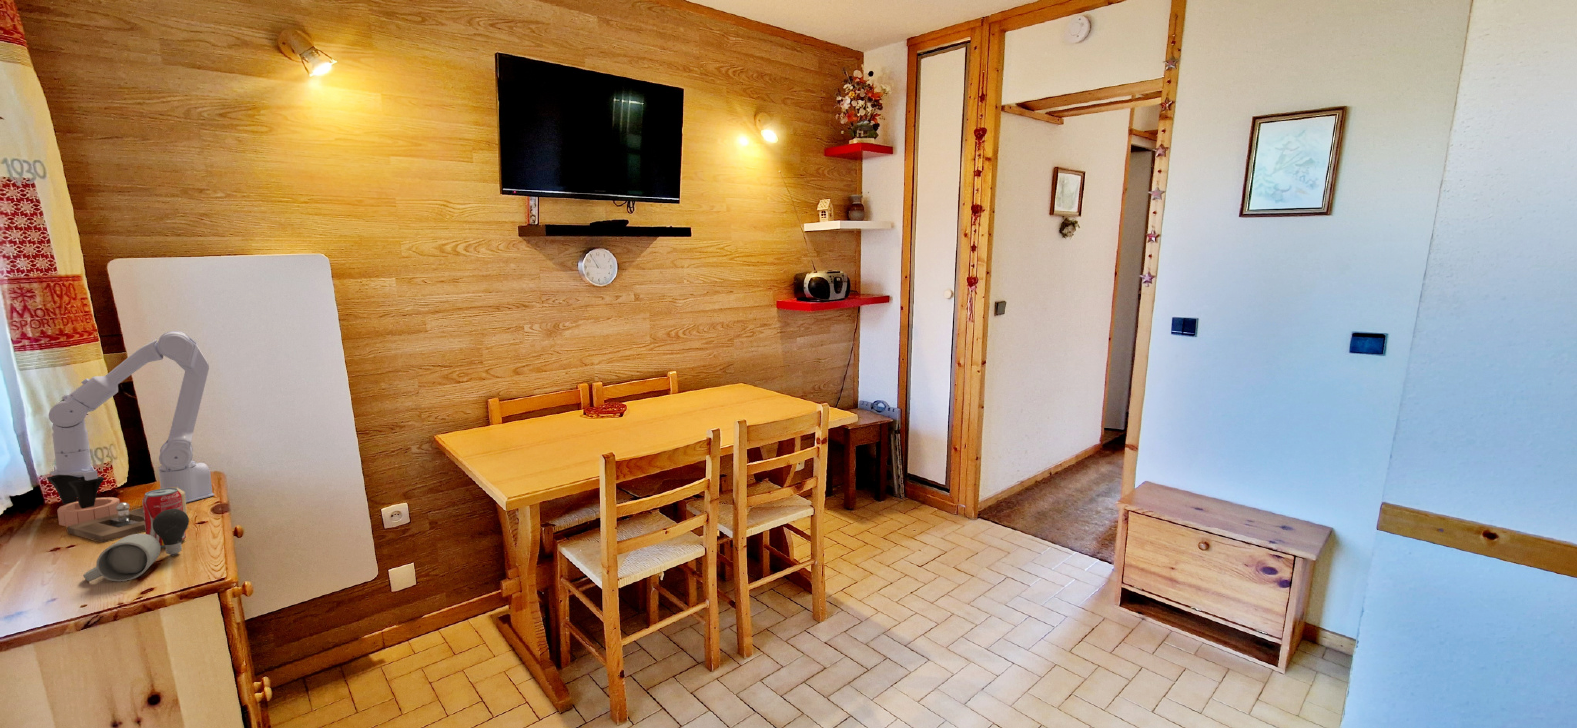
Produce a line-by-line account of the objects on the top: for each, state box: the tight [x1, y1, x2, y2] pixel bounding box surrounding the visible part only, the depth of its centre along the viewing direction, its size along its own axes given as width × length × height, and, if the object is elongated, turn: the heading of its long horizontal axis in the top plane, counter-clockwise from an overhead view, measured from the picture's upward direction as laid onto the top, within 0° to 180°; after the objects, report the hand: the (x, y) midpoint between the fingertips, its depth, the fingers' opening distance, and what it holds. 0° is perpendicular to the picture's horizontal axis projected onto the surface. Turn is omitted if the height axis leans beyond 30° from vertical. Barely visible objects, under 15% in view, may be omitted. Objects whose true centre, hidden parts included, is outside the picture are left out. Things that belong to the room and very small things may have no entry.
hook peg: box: [110, 501, 138, 528], centre depth 153 cm, size 2×8×6 cm, turn 70°
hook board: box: [66, 507, 146, 543], centre depth 154 cm, size 14×14×2 cm
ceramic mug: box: [82, 533, 162, 583], centre depth 130 cm, size 11×8×8 cm
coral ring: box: [57, 496, 121, 527], centre depth 158 cm, size 10×10×4 cm
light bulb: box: [152, 509, 190, 557], centre depth 139 cm, size 6×6×10 cm
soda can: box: [141, 488, 187, 549], centre depth 144 cm, size 6×6×12 cm
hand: (78, 504), depth 160 cm, fingers open, 7 cm apart
